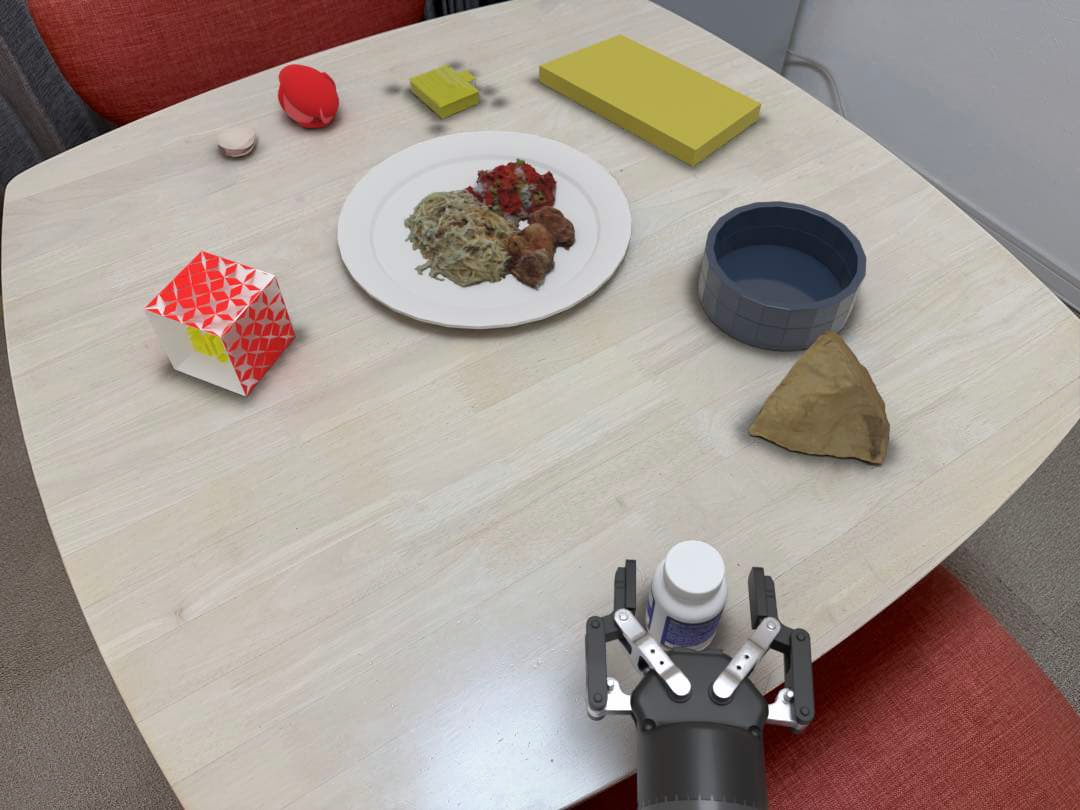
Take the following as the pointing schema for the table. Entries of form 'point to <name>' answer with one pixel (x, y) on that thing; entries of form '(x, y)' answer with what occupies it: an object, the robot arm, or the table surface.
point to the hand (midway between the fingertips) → (692, 568)
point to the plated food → (484, 229)
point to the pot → (780, 274)
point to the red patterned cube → (222, 322)
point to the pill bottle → (687, 596)
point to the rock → (826, 406)
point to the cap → (307, 95)
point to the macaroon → (236, 140)
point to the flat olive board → (652, 97)
